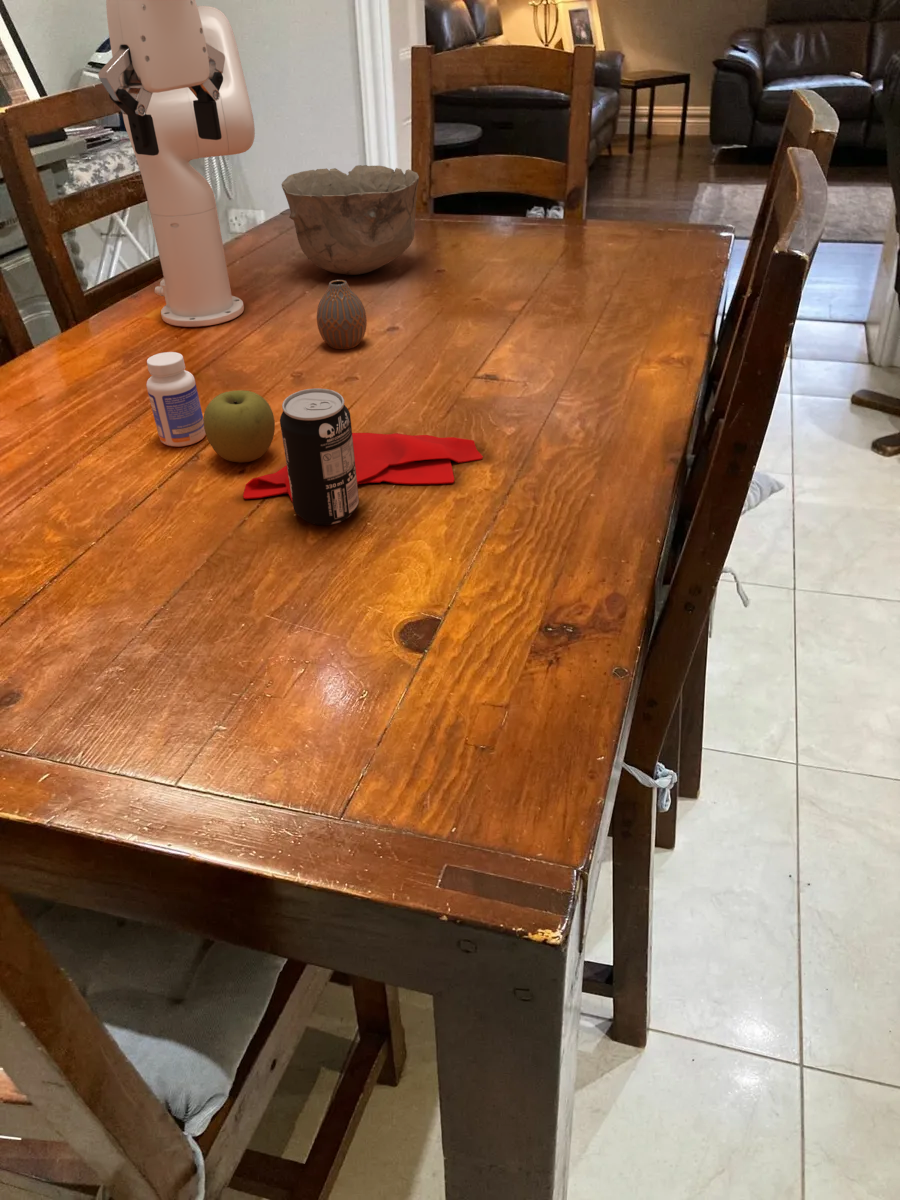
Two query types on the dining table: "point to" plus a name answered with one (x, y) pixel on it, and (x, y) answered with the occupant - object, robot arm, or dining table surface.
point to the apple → (239, 425)
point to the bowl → (353, 216)
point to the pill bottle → (174, 400)
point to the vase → (341, 316)
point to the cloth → (387, 462)
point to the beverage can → (319, 456)
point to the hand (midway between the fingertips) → (180, 146)
